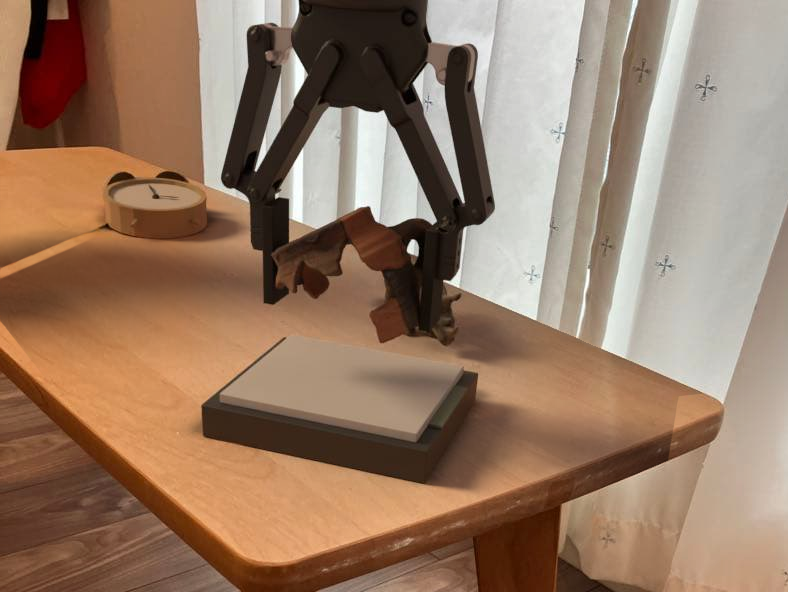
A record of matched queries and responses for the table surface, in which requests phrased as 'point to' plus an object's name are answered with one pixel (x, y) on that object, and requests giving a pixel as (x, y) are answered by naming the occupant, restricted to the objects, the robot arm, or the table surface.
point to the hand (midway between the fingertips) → (351, 311)
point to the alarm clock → (154, 205)
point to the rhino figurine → (446, 323)
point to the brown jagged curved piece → (375, 248)
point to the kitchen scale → (344, 406)
